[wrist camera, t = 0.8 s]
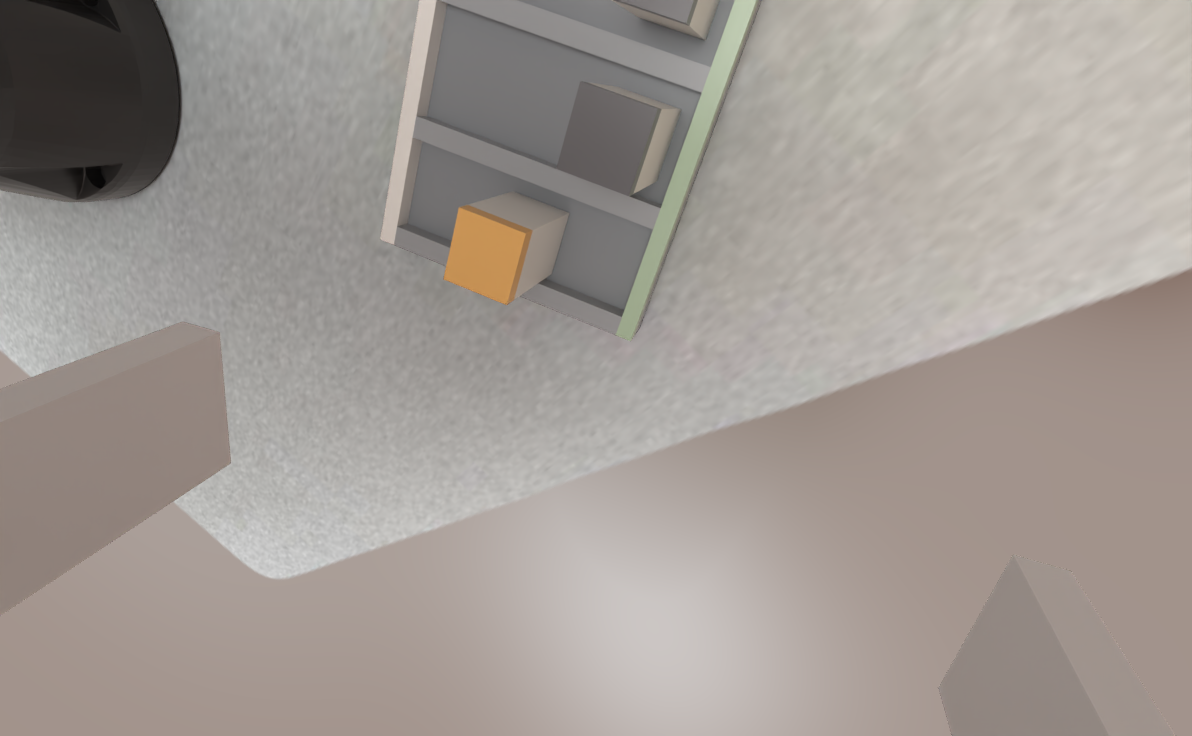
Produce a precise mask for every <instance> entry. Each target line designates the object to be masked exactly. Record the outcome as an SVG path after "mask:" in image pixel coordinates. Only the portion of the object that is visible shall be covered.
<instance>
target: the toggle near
mask: <svg viewBox="0 0 1192 736" xmlns="http://www.w3.org/2000/svg"><path fill="white" fill-rule="evenodd" d="M612 1H614V2H615V3H617V4H618V5H620V6H621V7H623V8H624V9H626V10H628V11H629V12H631V13H632V14H634V15H635V16H637V17H638V18H641V19H644V20H647V21H650V22H653V23H656V24H659V25H662V26H665V27H668V28H670V29H673V30H676V31H679V32H682V33H685V34H688V35H691V36H694V37H697V38H700V39H703V40H706V37H707V35H708V32H709V29H710V26H711V23H712V20H713V17H714V14H715V12H716V9H717V6H718V3H719V0H612Z"/></svg>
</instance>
